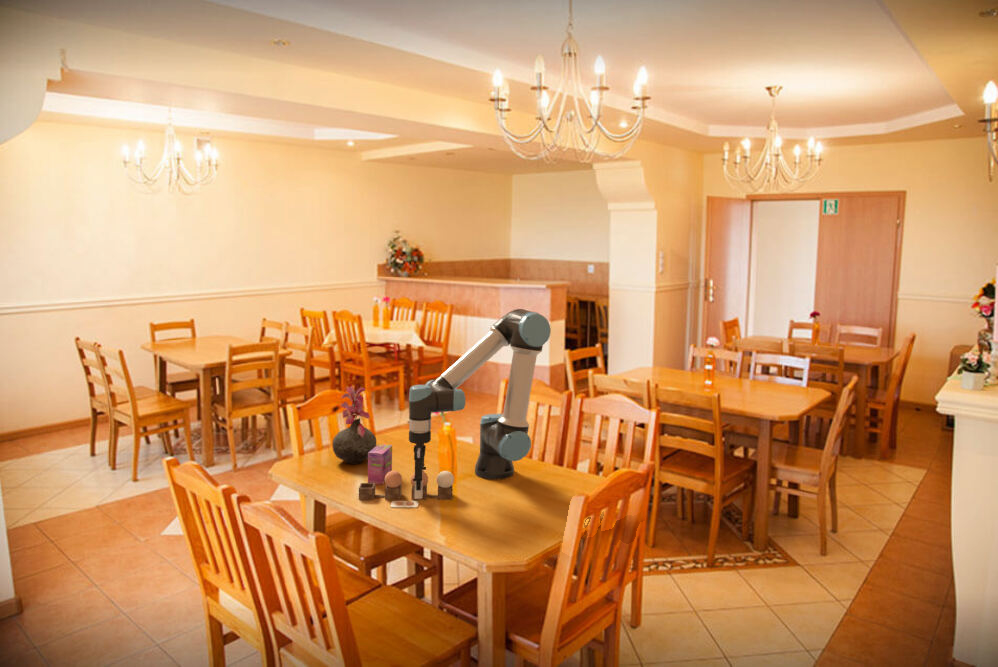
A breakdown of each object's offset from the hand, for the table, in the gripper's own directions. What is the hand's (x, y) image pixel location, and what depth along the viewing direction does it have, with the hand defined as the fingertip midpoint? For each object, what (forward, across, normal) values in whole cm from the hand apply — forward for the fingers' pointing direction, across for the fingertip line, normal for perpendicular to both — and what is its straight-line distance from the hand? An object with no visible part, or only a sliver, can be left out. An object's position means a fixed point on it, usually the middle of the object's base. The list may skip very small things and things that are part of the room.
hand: (419, 493), depth 228 cm
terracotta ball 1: (-2, 0, -9) cm, 9 cm away
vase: (+2, -36, -28) cm, 45 cm away
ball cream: (-2, 0, +9) cm, 9 cm away
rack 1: (+1, 0, -14) cm, 14 cm away
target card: (+1, +7, -4) cm, 8 cm away
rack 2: (+1, 0, +4) cm, 5 cm away
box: (+2, -17, -16) cm, 23 cm away
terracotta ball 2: (-2, 0, 0) cm, 2 cm away
